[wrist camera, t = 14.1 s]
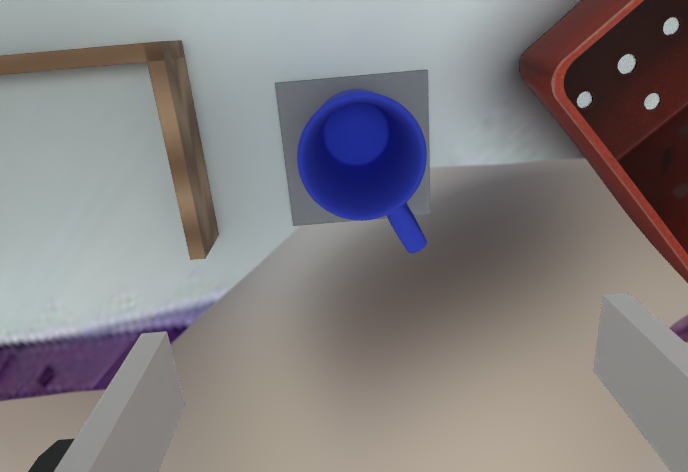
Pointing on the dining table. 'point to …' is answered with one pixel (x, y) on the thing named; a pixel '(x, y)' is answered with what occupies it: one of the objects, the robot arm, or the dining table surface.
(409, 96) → the mat
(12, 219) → the dining table surface
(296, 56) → the dining table surface
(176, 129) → the wooden u-shaped frame
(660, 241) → the plant pot
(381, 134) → the mug
